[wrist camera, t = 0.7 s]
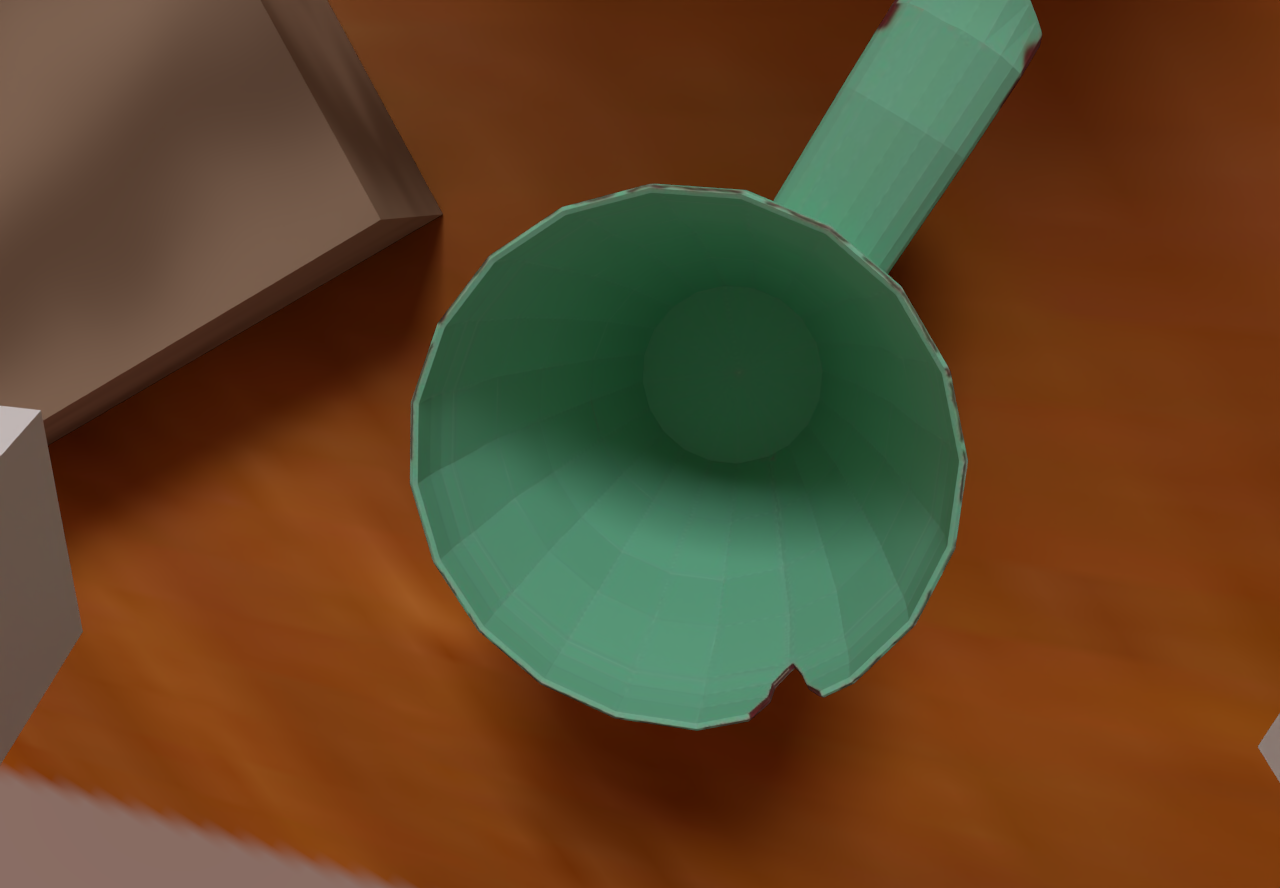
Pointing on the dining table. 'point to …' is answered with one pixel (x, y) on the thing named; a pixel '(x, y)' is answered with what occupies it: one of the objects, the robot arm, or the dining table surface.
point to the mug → (718, 407)
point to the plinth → (177, 185)
